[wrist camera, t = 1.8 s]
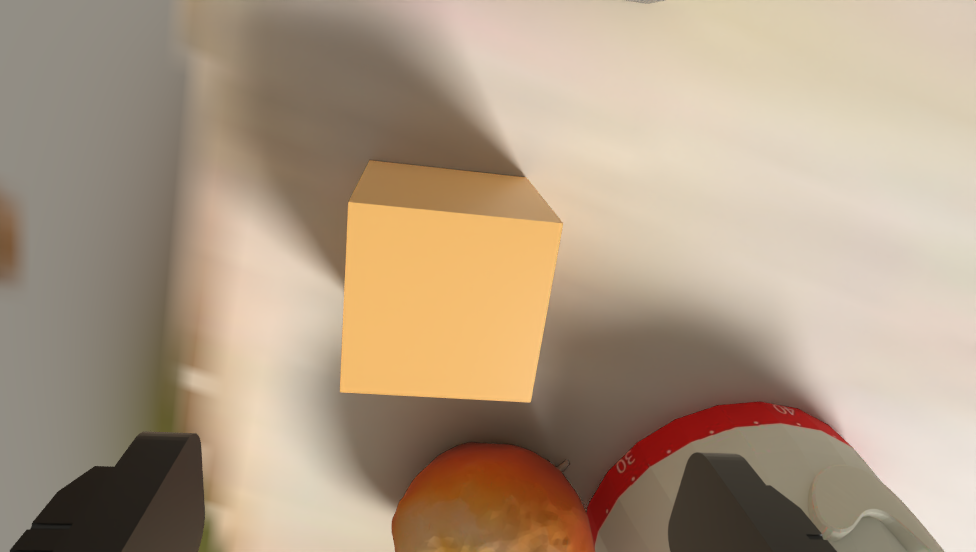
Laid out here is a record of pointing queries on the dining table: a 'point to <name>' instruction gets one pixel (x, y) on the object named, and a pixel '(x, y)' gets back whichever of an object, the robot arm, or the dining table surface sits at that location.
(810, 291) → the dining table surface
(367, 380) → the peach colored cube
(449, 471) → the fruit
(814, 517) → the kitchen timer
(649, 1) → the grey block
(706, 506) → the robot arm
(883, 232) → the dining table surface
